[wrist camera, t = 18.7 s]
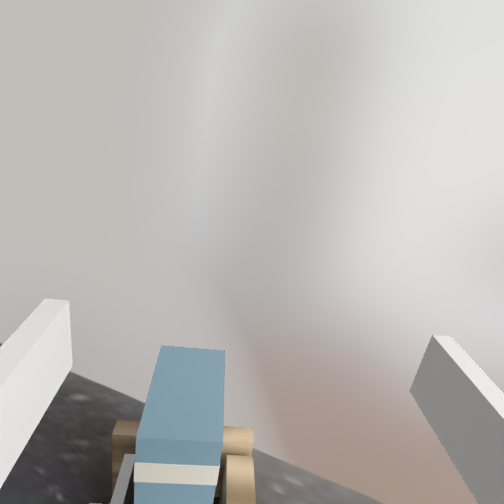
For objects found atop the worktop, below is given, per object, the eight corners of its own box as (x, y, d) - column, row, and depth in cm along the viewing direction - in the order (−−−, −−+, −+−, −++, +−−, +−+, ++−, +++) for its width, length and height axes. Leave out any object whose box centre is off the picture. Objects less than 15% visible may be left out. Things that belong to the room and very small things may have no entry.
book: (194, 620, 35) (223, 442, 25) (129, 620, 34) (135, 438, 25) (202, 510, 44) (225, 350, 35) (151, 508, 43) (160, 345, 34)
